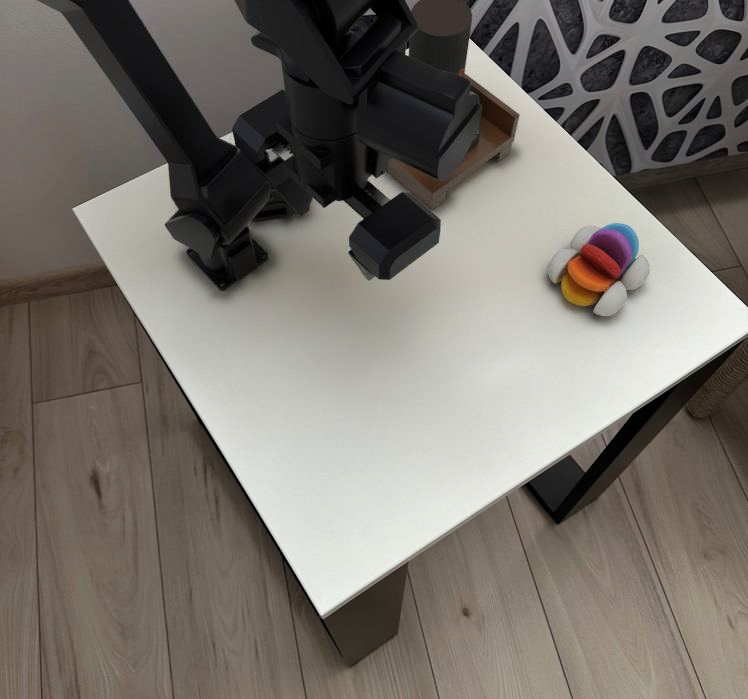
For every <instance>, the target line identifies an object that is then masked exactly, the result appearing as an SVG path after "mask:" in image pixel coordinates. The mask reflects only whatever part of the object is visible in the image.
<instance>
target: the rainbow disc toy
mask: <svg viewBox="0 0 748 699" xmlns="http://www.w3.org/2000/svg"><path fill="white" fill-rule="evenodd" d="M639 250H640V242H639V238H638V235H637V233H636V232H635V230H634V229H633V228H632V227H631V226H630V225H628V224H626V223H623V222H614V223H610V224H606V225H605V226H603V227H599V226H597V225H585V226H583V227H581V228H579V229H578V230H577V231H576V232H575V234H574V235H573V237H572V239H571V241H570V248H563V249H560V250H558V251H557V252H555V254H554V255H552V258H550V260H549V263H548V264H547V273H548V277H549V279H550V280H551V282H552V283H553V284H558V283H560V282H561V283H560V289H561V293H562V295H563V297H564V298H565V299H566V301H567V302H569V303H571V304H573V305H576V306H580V307H588V306H593V305H595V304H596V305H595V306H594V308H593V314H596V315H598V316H601V317H610V316H613V315H615V314H617V313H618V311H620V309H622V307H623V306H624V304H626V301H627V297H628V293H627V291H633V290H636V289H638V288H640V287H641V286H642V285H643V284H644V282H645V281H646V279H647V278H648V277H649V275H650V274H651V273H650V272H651V265H650V263H649V261H648V259H647V258H646V256H645V255H644V254H640V255H638V254H639ZM637 256H638V257H637Z"/></svg>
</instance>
